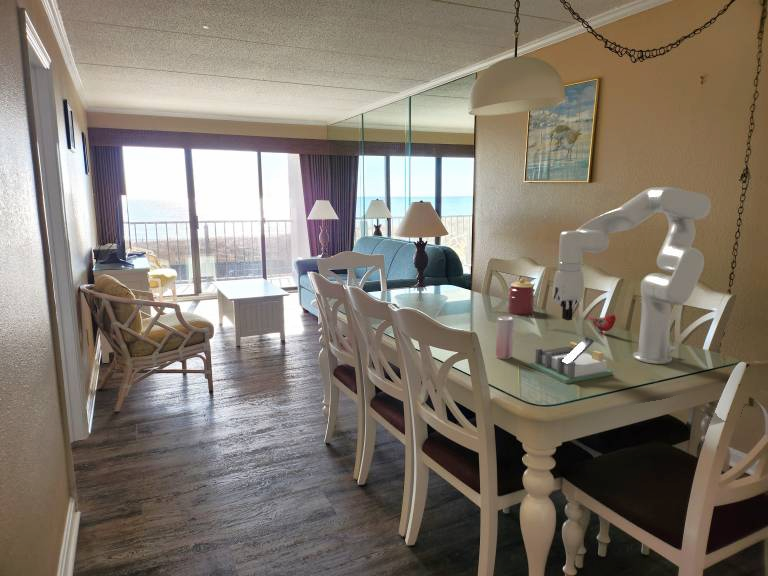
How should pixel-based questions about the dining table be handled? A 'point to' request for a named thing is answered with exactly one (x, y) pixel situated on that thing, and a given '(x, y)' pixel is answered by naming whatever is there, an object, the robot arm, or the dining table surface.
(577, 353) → the near strap
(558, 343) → the dining table surface
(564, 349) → the strap
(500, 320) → the beverage can
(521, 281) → the canister
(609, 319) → the decorative bird figurine
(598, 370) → the board
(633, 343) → the dining table surface
